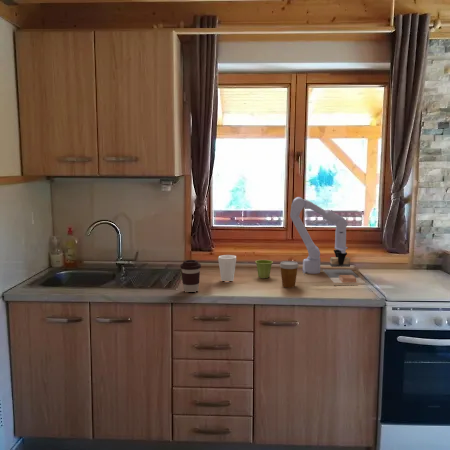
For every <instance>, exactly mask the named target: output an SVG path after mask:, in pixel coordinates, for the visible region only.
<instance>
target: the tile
mask: <svg viewBox="0 0 450 450" xmlns="http://www.w3.org/2000/svg"><path fill="white" fill-rule="evenodd" d="M339 279H340V280H341V281H342V282H356V278H355V277H354V276H353V275H339Z"/></svg>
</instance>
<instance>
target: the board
mask: <svg viewBox="0 0 450 450" xmlns="http://www.w3.org/2000/svg"><path fill="white" fill-rule="evenodd" d="M322 271H323V272H324V273H325V275H327V276H328V278H329V279H330V280H331V281H332V283H334V284H333V286H334V287H335V286H347V287H348V286H349V287H350V286H357V283H359V284H365V283H366V281H365V280H363V278H361V277H360V276H359V275H358V274H356V273H355V272H354V271H353V270H352V269H349V268H347V269H346V268H345V269H341V268H340V269H322ZM339 275H353V276H354V277H355V278H356V282H342V281H341V280H340V279H339ZM351 283H353V284H351Z"/></svg>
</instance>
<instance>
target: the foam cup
mask: <svg viewBox="0 0 450 450" xmlns="http://www.w3.org/2000/svg"><path fill="white" fill-rule="evenodd" d="M217 261H218V266H219V274H220V281H221V280H222V281H233V282H234V278H235V270H236V263H237V255H234V254H223V255H222V254H221V255H219V256H218V257H217ZM222 281H221V282H222Z"/></svg>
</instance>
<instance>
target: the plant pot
mask: <svg viewBox="0 0 450 450" xmlns="http://www.w3.org/2000/svg"><path fill="white" fill-rule="evenodd" d="M255 263H256V268H257V270H256V271H257V276H258V278H259V277H260V279H269V278H270V276H271V269H272V265H273V263H274V261H273V260H269V259H258V260H255ZM268 277H269V278H268Z"/></svg>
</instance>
